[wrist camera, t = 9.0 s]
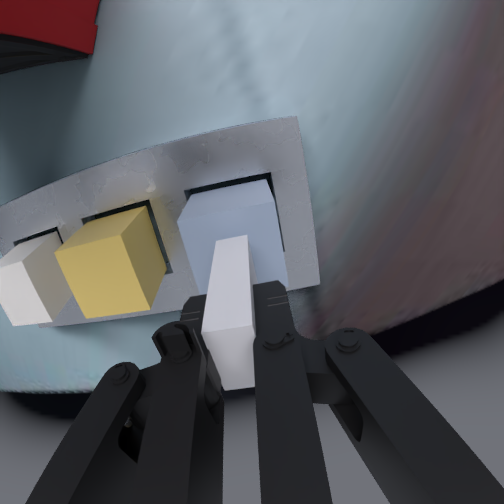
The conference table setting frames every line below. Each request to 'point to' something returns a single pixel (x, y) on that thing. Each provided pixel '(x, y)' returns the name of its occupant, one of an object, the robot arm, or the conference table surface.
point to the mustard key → (113, 264)
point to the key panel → (177, 201)
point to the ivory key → (33, 282)
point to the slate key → (233, 229)
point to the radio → (45, 32)
